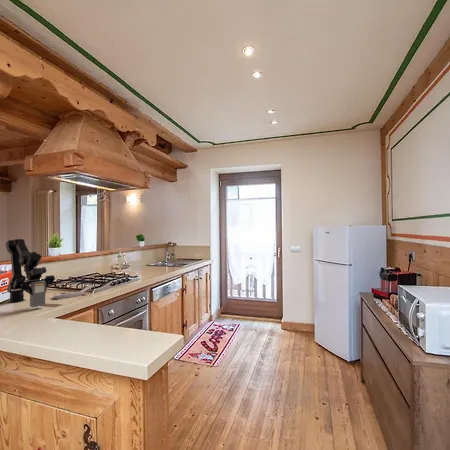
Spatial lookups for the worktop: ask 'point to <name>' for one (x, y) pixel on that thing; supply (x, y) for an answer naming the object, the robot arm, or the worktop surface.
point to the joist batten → (52, 305)
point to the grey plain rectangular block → (37, 293)
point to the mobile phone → (70, 294)
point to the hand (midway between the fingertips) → (38, 293)
